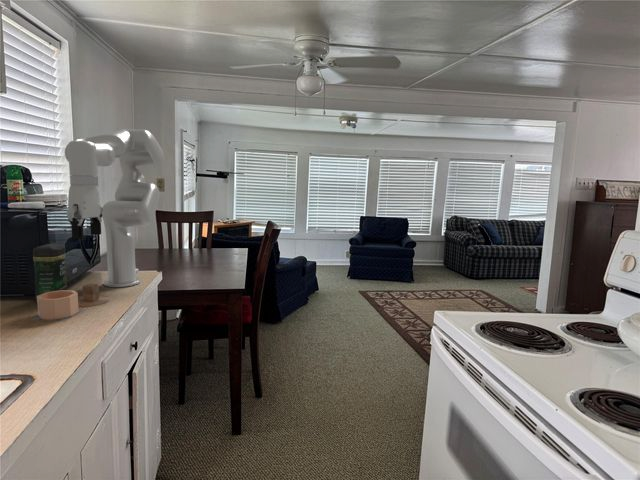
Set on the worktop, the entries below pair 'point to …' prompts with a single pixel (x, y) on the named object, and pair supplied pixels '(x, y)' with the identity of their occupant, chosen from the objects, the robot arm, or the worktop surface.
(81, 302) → the lid
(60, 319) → the mat
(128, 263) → the robot arm
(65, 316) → the bowl
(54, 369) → the worktop surface
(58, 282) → the coffee jar
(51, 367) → the worktop surface
